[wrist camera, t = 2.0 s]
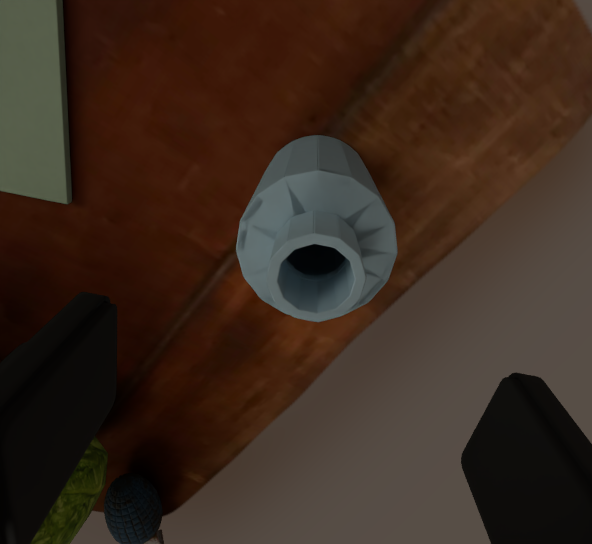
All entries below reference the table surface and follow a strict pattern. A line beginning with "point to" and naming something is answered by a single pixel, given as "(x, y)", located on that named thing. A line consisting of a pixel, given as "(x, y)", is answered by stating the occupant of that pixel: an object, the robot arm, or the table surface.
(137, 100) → the table surface
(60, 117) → the mat
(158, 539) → the hand grenade
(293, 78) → the table surface
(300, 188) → the bottle
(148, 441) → the table surface
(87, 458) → the lettuce
